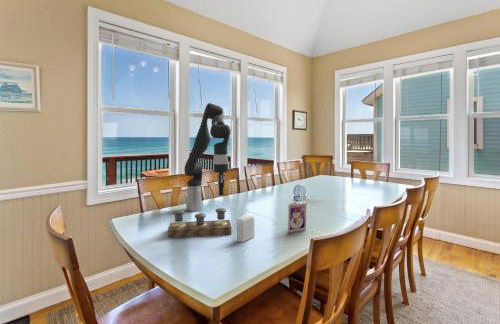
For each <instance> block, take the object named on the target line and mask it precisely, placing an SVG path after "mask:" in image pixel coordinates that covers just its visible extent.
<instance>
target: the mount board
mask: <svg viewBox="0 0 500 324" xmlns="http://www.w3.org/2000/svg"><path fill="white" fill-rule="evenodd" d="M227 235H228V236H229V235H232V225H231V222H230V219H223V220H218V219H217V220H204V225H196V220H195V221H181V222H176V221H174V222H170V223H169V225H168V227H167V239H174V238H190V237H191V238H192V237H207V236H208V237H209V236H213V237H214V236H227Z"/></svg>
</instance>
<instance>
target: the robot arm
mask: <svg viewBox="0 0 500 324" xmlns="http://www.w3.org/2000/svg"><path fill="white" fill-rule="evenodd" d="M224 116H225V115H224V109H223V107H222V106H220V105H216V104H213V103H210V102H209V103H207V104H206V106H205V108H204V111H203V115H202V119H201V121H200V125H199V129H198V132H197V134H196V136H195V139H194V142H193V146H192V148H191V152H190V153H189V156H188V159H187V160H186V162H185V165H184V174H185V176H188V177H191V178H190V179H189V180H188V181H187V182H186V185H187V186H186V187H187V189H186V190H187V191H186V192H187V196H186V197H185V199H186V200H185V201H186V205H185V208H186V209H185V210H186V211H188V212H191V213H193V212H199V211H201V210H202V181H203V165H202V164H201V162H199V161H198V160H199V159H200V158H201V156H202V155H204V153H205V152H206V151H207V149H208V147H209V145H210V143H211V138H213V139H223V140H222V141H220V142H216V143H214V145H213V172H214V173H218V174H217V175H216V179H217V186H218V196H220V197H221V196H224V188H225V180H226V176H225V174H224V173H228V171H229V158H228V146H229V139H230V137H231V133H232V131H231V130H232V129H231V127H230V125H227V124H225V121H224ZM208 120H211V126H210V131H209V126H208Z"/></svg>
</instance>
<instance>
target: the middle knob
mask: <svg viewBox="0 0 500 324" xmlns="http://www.w3.org/2000/svg"><path fill="white" fill-rule="evenodd" d="M206 216H207V215H206V213H195V214H194V218H196V219H195V221H196V225H204V221H205V218H206Z"/></svg>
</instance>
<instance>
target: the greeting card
mask: <svg viewBox="0 0 500 324" xmlns="http://www.w3.org/2000/svg"><path fill="white" fill-rule="evenodd" d="M287 211H288V214H287V215H288V217H287V218H288V222H287V233H288V234H289V232H290V233H294V232H295V231H296V232H301V231H306V230H307V203H304V202H303V203H298V202H297V200H295V201H294V202H292V203H289V204H288V210H287Z"/></svg>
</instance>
